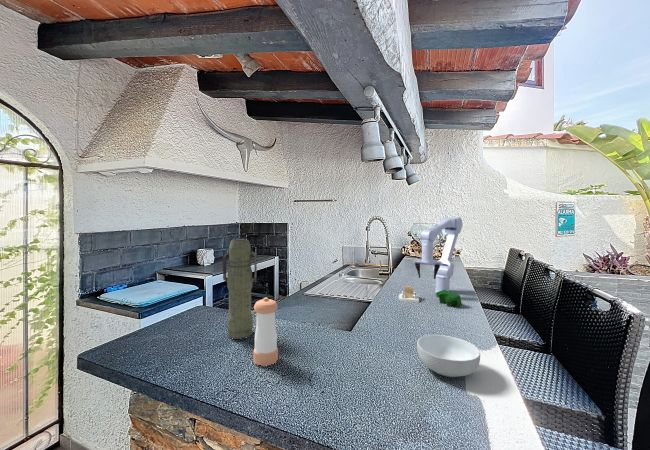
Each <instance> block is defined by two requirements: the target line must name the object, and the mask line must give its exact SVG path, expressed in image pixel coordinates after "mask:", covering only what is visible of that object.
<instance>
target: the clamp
mask: <svg viewBox="0 0 650 450" xmlns="http://www.w3.org/2000/svg"><path fill="white" fill-rule="evenodd" d="M435 296H436V297H437V298H438V299H439V304H443V303H446V307H451V306H454V307H457V308H458V307H460V306H462V305H463V304H462V298H461V295H460V294H457V293H455V292H452V291H450V290H449V291H447V290H442V291H439V292H437V293H435Z"/></svg>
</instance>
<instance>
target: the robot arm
mask: <svg viewBox="0 0 650 450" xmlns="http://www.w3.org/2000/svg"><path fill="white" fill-rule="evenodd" d="M462 227H463V220H462V218H461V217H460V216H458V217H453V216H451V217H448V216H444V217H443V218H441V221H440V222H439V223H438V224H435V223H433V224H432V226H430V227H427V229H423V230H421V232H420V234H419V239H420V244H421V259H413V260H412V264H413V265H414V267H415V268H416V270H417V271H416V272H417V274H418V279H420V278H421V265H430V266H433V267H432V273H433V279H434V280H435V288H434V293H435V294H436V293H437V292H439V291H442V290H447V291H450V282H451V281H450V280H451V278H452V277H453V275H454V269H455V265H454V263H452V262H451V261H452V258H453V254H454V250H455V247H456V243H457V239H458V237H459V235H460V233H461V232H462V229H463V228H462ZM443 230H444V232H445V233H446V234H447V237H446V240H445V244H444V248H443V251H442V255H441V258H439V260H434V241H436V238H437V237H438V235H440V234H441V233H442V231H443Z"/></svg>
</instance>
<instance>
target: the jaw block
mask: <svg viewBox="0 0 650 450" xmlns="http://www.w3.org/2000/svg"><path fill="white" fill-rule="evenodd" d="M404 286H405V285H404ZM404 294H405V297H406V298H413V295H414V286H411V285H410V286H408V285H406V286H405V287H404Z"/></svg>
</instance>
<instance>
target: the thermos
mask: <svg viewBox="0 0 650 450" xmlns="http://www.w3.org/2000/svg"><path fill="white" fill-rule="evenodd" d="M251 247H252V246H251V244H250V240H248V239H247V238H233V239H232V240H231V241H230V244H229V247H228V252H225V253H223V254H224V255H222V272H223V273H222V279H223V280H224V282H226V284H227V285H226V287H227V289H228V318H227V325H226V327H227V337H228V336H229V337H230V338H233V339H240V338H245V337H248V336H250V335H252V336H253V328H254V321H253V320H254V319H253V316H252V289H253V282H254V281H257V278H258V277H257V270H258V269H257V268H258V267H257V264H258V263H257V262H258V261H257V258H258V255H257V254H256V253H255V251H252V250H251V249H252V248H251ZM252 255H253V258H254V261H253V262H254V275H253V269H252V266H251V265H252V263H251V260H252V258H251V257H252ZM227 256H228V262H229V265H228V271H227ZM229 337H228V338H229ZM250 337H251V336H250ZM230 338H229V339H230ZM233 339H232V340H233Z"/></svg>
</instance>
